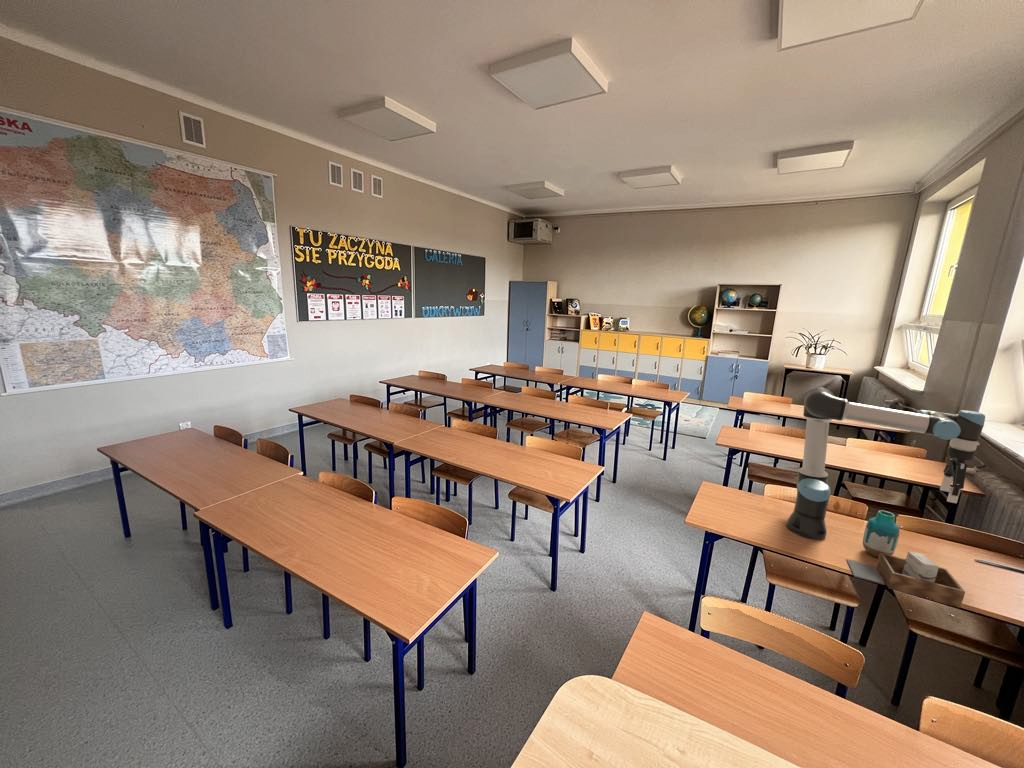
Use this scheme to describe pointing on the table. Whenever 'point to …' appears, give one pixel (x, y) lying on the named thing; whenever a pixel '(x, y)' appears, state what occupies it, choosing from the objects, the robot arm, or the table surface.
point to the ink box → (920, 567)
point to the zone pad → (865, 571)
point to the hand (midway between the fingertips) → (947, 496)
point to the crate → (920, 582)
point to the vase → (881, 534)
